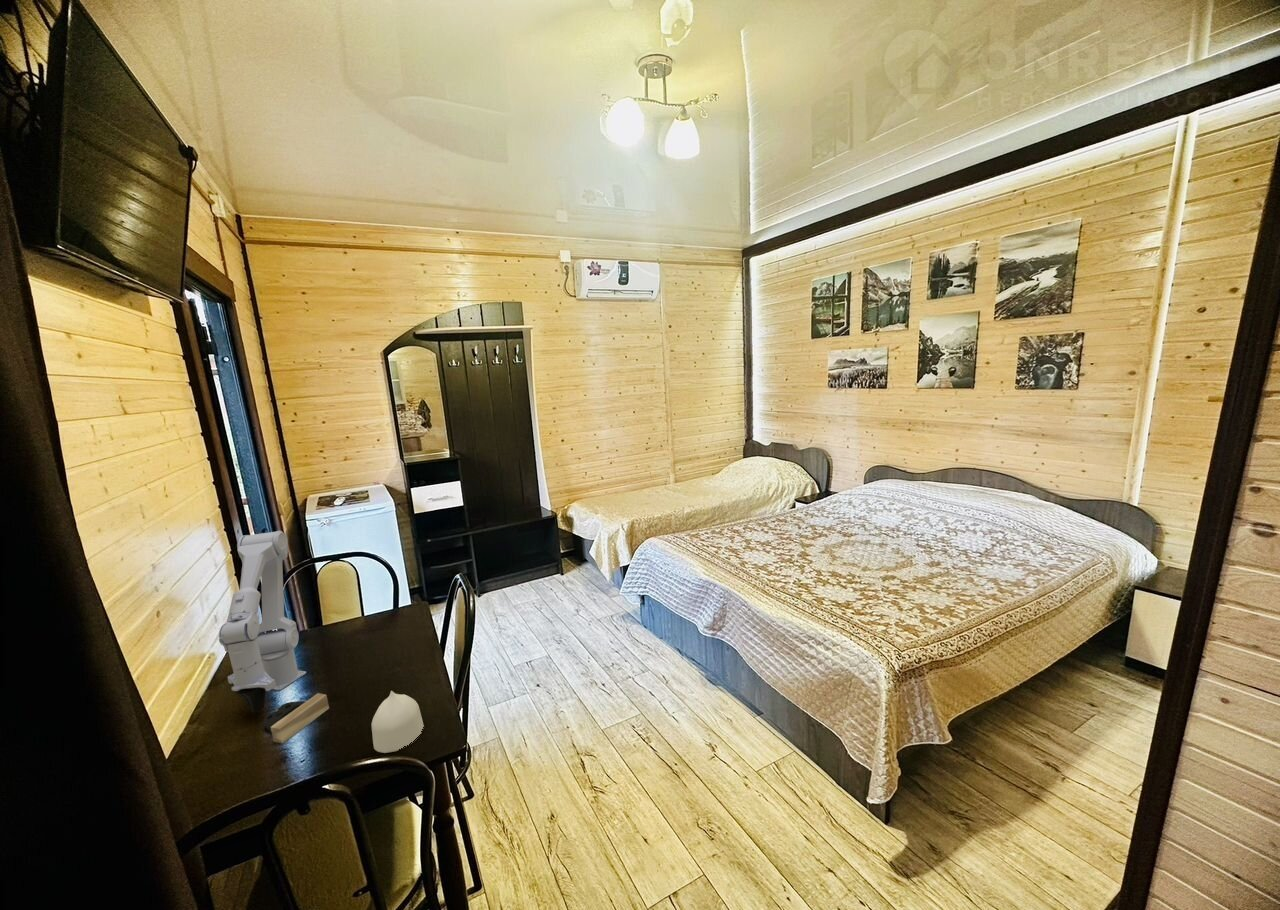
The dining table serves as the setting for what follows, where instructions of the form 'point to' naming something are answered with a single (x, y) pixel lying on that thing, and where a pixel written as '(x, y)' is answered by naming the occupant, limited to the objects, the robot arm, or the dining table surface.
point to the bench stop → (299, 718)
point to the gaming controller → (280, 713)
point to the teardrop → (396, 723)
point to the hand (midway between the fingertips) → (258, 709)
